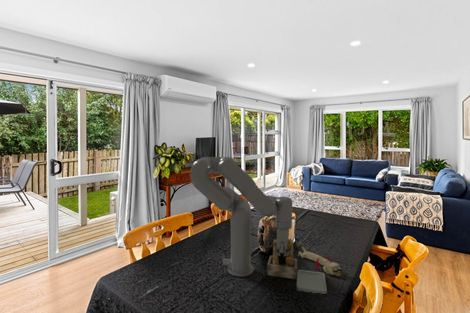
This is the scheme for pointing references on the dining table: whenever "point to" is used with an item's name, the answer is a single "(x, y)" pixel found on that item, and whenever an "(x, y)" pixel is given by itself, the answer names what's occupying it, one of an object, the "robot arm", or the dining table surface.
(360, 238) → the dining table surface
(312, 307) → the dining table surface
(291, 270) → the caddy
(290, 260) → the candy box
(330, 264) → the cat figure
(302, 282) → the tray
